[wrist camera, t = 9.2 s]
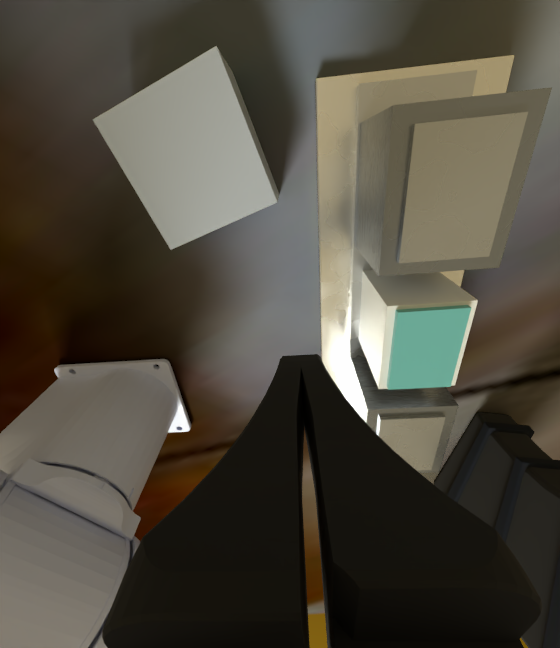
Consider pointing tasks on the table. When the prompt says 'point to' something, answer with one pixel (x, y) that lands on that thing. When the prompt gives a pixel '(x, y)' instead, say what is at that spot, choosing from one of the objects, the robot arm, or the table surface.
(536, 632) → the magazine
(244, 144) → the block
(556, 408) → the table surface
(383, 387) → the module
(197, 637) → the robot arm
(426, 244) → the rail panel
